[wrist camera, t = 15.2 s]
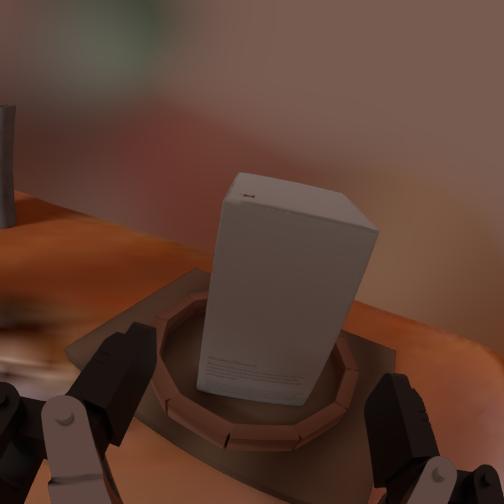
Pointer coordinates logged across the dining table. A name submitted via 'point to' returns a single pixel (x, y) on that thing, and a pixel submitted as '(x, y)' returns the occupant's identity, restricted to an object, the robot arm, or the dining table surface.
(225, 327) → the supplement box
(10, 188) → the hip flask
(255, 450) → the ring holder
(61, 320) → the dining table surface
